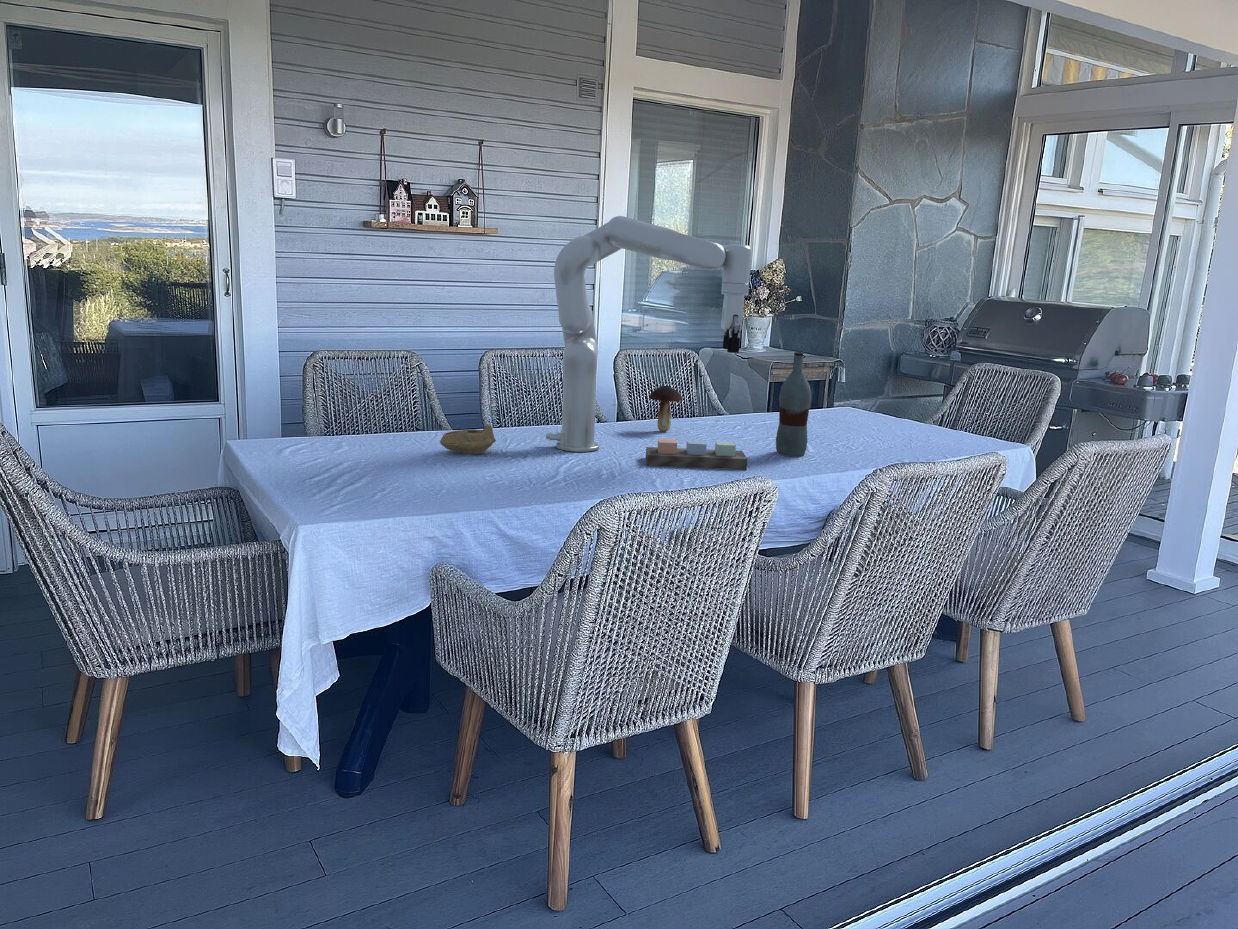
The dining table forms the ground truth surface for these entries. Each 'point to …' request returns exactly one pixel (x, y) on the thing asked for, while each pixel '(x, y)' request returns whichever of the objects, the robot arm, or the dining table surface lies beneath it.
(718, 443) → the sage button
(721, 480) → the dining table surface
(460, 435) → the oil lamp
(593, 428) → the robot arm
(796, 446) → the bottle
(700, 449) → the slate button
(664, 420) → the decorative mushroom
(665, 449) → the terracotta button
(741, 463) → the console
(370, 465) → the dining table surface
